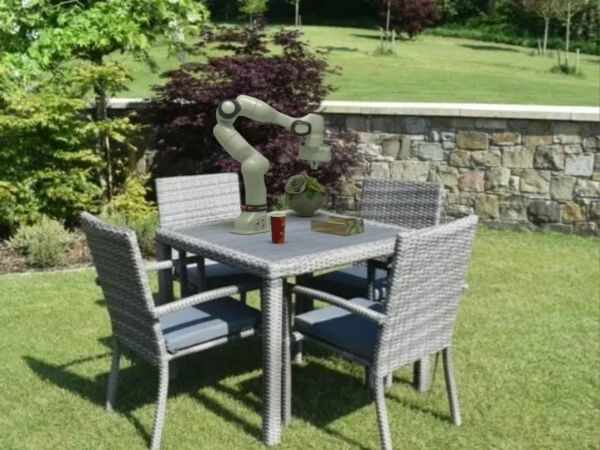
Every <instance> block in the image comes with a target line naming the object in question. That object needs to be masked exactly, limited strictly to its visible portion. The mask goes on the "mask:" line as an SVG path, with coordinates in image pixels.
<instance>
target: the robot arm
mask: <svg viewBox="0 0 600 450" xmlns="http://www.w3.org/2000/svg"><path fill="white" fill-rule="evenodd" d="M215 113H216V114H215V120H216V125H215V126H213V131H212V132H213V136H214V137H215V139H216V140H217V141H218V143H219V144H220V145H221V147H222V148H223V149H224V150H225V151H226V152H227V153H228V154H229V155H230V157H232V158H233V159H234V160H236V161H237V162H239V164H241V166H240V167H241V168H240V172H241V175H242V177H243V182H244V187H245V188H244V190H245V203H244V205H242V204H241V205H240V206H239V208H240V209H241V210H242V212H241V213H240V214H239V215H238V217H236V219H235V220H234V223H233V228H231V229H229V233H232V234H237V235H244V236H245V235H247V236H248V235H255V234H261V233H267V232H271V227H270V224H269V223H270V222H269V216H268V202H267V187H266V185H265V179H264V175H266V174H267V173H268V171H269V169H270V161H269V160H268V158H266V157H265V156H264V155H262V153H260V152H259V151H258V150H257V149H255V148H254V147H253V146H252V145H250V144H249V142H248V141H247V140H246V139H245V138H244V137H243V136H242V135H241V134H240V133H239V132H238V131H237V130H236V129H235V126H234V123H236V120H237V118H238V117H239V116H243V117H246V118H248V119H251V120H253V121H255V122H261V123H274V124H276V125H279V126H280V127H281V126H282V127H284V128H286V129H287V130H289V131H290V132H291V134H292V135H293V137H295V138H296V137H297V138H302V137H305V136H306V139H305V140H302V141H299V142H298V143H299V145H298V146H299V148H298V156H297V157H298V159H299V160H304V161H305V160H306V161H309V164H310V166H311V167H310V169H312V170H318V166H319V165H320V162H321V163H329V162H331V160H332V152H331V146H330V145H329V144H326V143H325V144H324V130H325V129H324V128H325V123H324V122H325V121H324V116H322V115H321V114H320V113H315V112H309V113H308V114H307V115H304V116H303V117H292V116H290V115H287V114H285V113H282V112H279V111H277V110H276V109H274V108H273V107H272V106H271V105H269V104H268V103H267V102H264V101H262V100H260V99H258V98H256V97H252V96H250V95H246V94H245V95H244V94H240V95H238V96H237V97H236V98H232V99H231V98H230V99H229V98H228V99H223V100H222V101H220V102H219V104H218V106H217V108H216V112H215ZM314 163H315V164H314Z"/></svg>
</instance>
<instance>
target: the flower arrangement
mask: <svg viewBox="0 0 600 450" xmlns="http://www.w3.org/2000/svg"><path fill="white" fill-rule="evenodd" d="M317 181H318V180H317V178H316V177H313V176H312V175H307V174H300V175H299V174H297V175H293V176H290V177H289V178H288V181H287V182H286V183H285V187H284V190H285V192H286V193H287V194H286V195H287V196H286V203H287V205H288V208H289V209H291V211H294V212H295V213H296V214H297V216H299V217H312V216H313V215H314V214H313V213H315V212H317V211H318V210H319V209H321V208H322V206H323V202H324V196H325V192H326V190H325V189H324V187H323V186H322V185H321V184H320V183H319V182H317Z"/></svg>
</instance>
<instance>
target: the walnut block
mask: <svg viewBox="0 0 600 450" xmlns="http://www.w3.org/2000/svg"><path fill="white" fill-rule="evenodd" d="M345 218H346V222H349V221H354V220H358V218H355V217H345Z"/></svg>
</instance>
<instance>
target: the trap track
mask: <svg viewBox="0 0 600 450" xmlns="http://www.w3.org/2000/svg"><path fill="white" fill-rule="evenodd" d="M346 218H347V217H342V216H334V215H328V221H325V220H324V221H323V220H318V219H313V218H312V219H310V231H311V232H314V233H316V232H317V233H323V234H329V235H335V236H340V237H341V236H342V237H348V236H352V235H356V234H360V233H363V232H365V220H364V218H359V219H358V218H357V220H354V221H349V222H346Z"/></svg>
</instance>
